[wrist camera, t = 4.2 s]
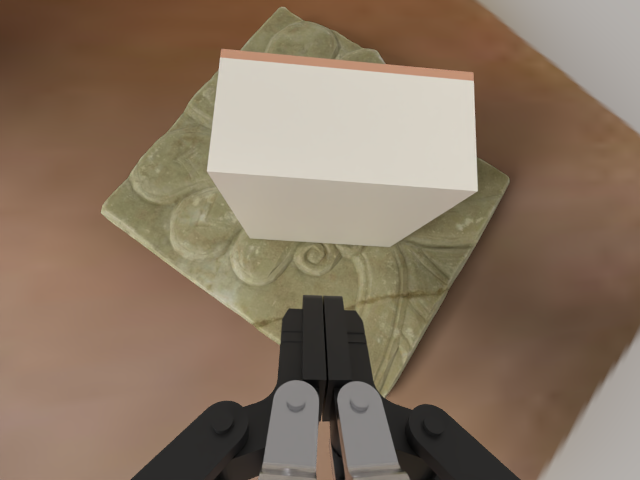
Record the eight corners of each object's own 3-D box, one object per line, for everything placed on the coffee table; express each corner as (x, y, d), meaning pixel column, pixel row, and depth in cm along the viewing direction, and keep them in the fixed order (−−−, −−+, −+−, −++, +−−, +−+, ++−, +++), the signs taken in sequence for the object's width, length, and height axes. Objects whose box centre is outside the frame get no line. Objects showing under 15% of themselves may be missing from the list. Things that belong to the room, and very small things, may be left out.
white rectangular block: (249, 238, 20) (206, 171, 10) (256, 171, 21) (221, 49, 11) (389, 247, 20) (477, 191, 11) (390, 181, 21) (473, 72, 11)
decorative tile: (368, 404, 22) (382, 422, 19) (115, 220, 23) (83, 205, 20) (508, 176, 26) (542, 156, 22) (284, 25, 27) (283, -17, 23)
